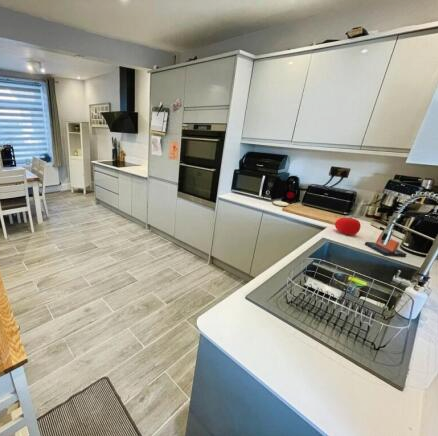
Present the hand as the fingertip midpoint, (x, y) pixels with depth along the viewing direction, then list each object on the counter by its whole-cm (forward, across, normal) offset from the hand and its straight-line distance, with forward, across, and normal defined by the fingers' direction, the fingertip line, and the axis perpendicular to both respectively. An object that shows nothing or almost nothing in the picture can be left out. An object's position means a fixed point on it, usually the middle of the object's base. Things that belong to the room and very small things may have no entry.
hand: (410, 215), depth 139 cm
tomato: (+14, +22, -22) cm, 34 cm away
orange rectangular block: (+9, -3, -20) cm, 22 cm away
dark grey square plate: (+9, -3, -22) cm, 24 cm away
